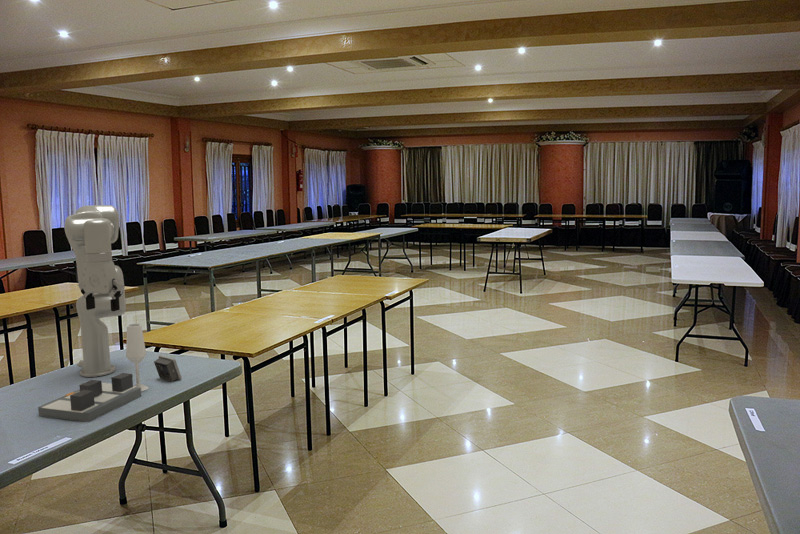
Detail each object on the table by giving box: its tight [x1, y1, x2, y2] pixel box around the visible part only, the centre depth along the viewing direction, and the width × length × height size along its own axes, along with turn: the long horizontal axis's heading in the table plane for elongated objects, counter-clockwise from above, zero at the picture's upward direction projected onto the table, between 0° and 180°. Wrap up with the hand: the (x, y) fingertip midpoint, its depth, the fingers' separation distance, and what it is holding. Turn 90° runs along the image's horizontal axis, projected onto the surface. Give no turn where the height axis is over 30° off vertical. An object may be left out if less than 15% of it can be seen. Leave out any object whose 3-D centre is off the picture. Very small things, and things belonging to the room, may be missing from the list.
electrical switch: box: [153, 354, 182, 383], centre depth 228 cm, size 9×5×9 cm, turn 57°
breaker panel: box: [37, 372, 142, 423], centre depth 202 cm, size 20×25×8 cm
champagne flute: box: [125, 323, 149, 392], centre depth 217 cm, size 7×7×24 cm
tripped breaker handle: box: [78, 379, 103, 397], centre depth 202 cm, size 4×6×4 cm
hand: (103, 309), depth 195 cm, fingers open, 9 cm apart
